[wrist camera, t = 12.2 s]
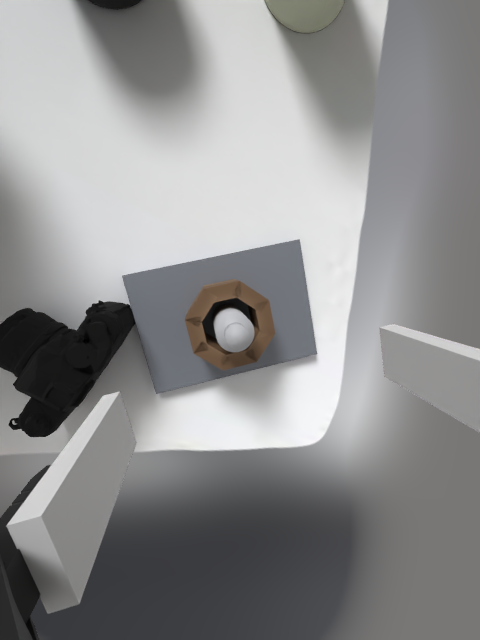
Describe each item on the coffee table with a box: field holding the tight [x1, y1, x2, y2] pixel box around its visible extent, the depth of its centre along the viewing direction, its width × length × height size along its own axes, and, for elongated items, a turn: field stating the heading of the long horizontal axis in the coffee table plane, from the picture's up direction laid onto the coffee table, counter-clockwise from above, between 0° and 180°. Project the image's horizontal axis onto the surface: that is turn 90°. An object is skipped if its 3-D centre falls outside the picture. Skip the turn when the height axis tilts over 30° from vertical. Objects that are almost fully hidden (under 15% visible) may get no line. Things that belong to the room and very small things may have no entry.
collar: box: [185, 279, 275, 370], centre depth 30 cm, size 8×8×5 cm
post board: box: [122, 239, 317, 394], centre depth 28 cm, size 20×14×11 cm
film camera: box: [0, 301, 135, 437], centre depth 27 cm, size 15×10×9 cm, turn 144°
